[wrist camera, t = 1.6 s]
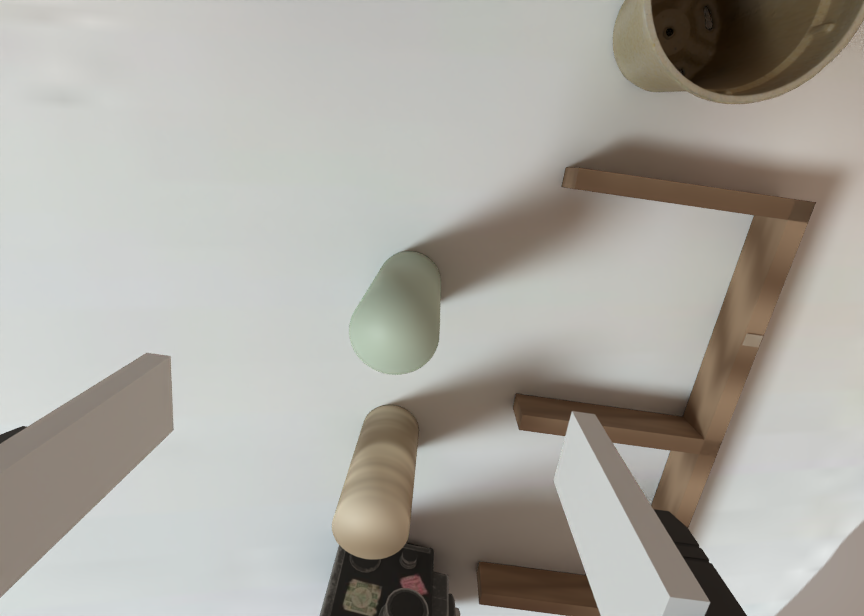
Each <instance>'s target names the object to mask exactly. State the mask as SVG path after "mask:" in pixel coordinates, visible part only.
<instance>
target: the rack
mask: <svg viewBox="0 0 864 616" xmlns="http://www.w3.org/2000/svg"><path fill="white" fill-rule="evenodd" d="M562 187H566V188H572V189H578V190H585V191H592V192H599V193H606V194H613V195H619V196H626V197H633V198H640V199H647V200H654V201H661V202H667V203H674V204H681V205H688V206H695V207H702V208H709V209H715V210H722V211H729V212H736V213H743V214H750V215H754V217H753V220H752V223H751V226H750V229H749V231H748V234H747V237H746V240H745V243H744V246H743V248H742V251H741V254H740V257H739V260H738V262H737V265H736V268H735V271H734V274H733V277H732V279H731V282H730V285H729V288H728V291H727V293H726V296H725V299H724V302H723V305H722V308H721V310H720V313H719V316H718V319H717V322H716V324H715V327H714V330H713V333H712V336H711V339H710V341H709V344H708V347H707V350H706V353H705V355H704V358H703V361H702V364H701V367H700V370H699V372H698V375H697V378H696V381H695V384H694V386H693V389H692V392H691V395H690V398H689V401H688V403H687V406H686V409H685V412H684V415H683V417H682V416H674V415H667V414H660V413H653V412H645V411H638V410H631V409H623V408H616V407H609V406H602V405H594V404H587V403H580V402H573V401H565V400H558V399H551V398H544V397H536V396H529V395H522V394H516V396H515V400H514V405H513V410H514V413H515V417H516V420H517V424H518V427H519V430H524V431H531V432H539V433H546V434H553V435H561V436H565V435H566V432H567V428H568V424H569V420H570V417H571V413H572V411H575V412H582V413H590V414H595V415H596V417H597V418H598V420H599V422H600V423H601V425H602V426H603V428H604V430H605V431H606V433H607V435H608V436H609V438H610V440H611V441H612V443H619V444H627V445H634V446H641V447H649V448H656V449H663V450H671V451H670V454H669V457H668V460H667V463H666V465H665V468H664V471H663V474H662V477H661V479H660V482H659V485H658V488H657V491H656V494H655V496H654V499H653V502H652V505H651V506H652V508H653V509H657V510H664V511H669V512H671V513H672V514H673V515H674V516H675V517H676V518H677V519H678V520H679V521H681V522H682V523H683V524H684V525H685V526H686V527H687V528H688V527H689V524H690V522H691V519H692V516H693V514H694V511H695V509H696V506H697V504H698V501H699V499H700V496H701V494H702V491H703V488H704V486H705V483H706V481H707V478H708V476H709V473H710V471H711V468H712V466H713V463H714V460H715V458H716V455H717V453H718V450H719V448H720V445H721V443H722V440H723V438H724V435H725V432H726V430H727V427H728V425H729V422H730V420H731V417H732V415H733V412H734V410H735V407H736V405H737V402H738V399H739V397H740V394H741V392H742V389H743V387H744V384H745V382H746V379H747V377H748V374H749V371H750V369H751V366H752V364H753V361H754V359H755V356H756V354H757V351H758V349H759V346H760V343H761V341H762V338H763V336H764V333H765V331H766V328H767V326H768V323H769V321H770V318H771V315H772V313H773V310H774V308H775V305H776V303H777V300H778V298H779V295H780V293H781V290H782V287H783V285H784V282H785V280H786V277H787V275H788V272H789V270H790V267H791V265H792V262H793V259H794V257H795V254H796V252H797V249H798V247H799V244H800V242H801V239H802V237H803V234H804V232H805V229H806V226H807V224H808V221H809V219H810V216H811V214H812V211H813V209H814V206H815V204H816V202H810V201H803V200H796V199H790V198H783V197H776V196H769V195H762V194H756V193H749V192H742V191H735V190H728V189H721V188H715V187H708V186H701V185H694V184H687V183H681V182H674V181H667V180H660V179H653V178H646V177H640V176H633V175H626V174H619V173H612V172H606V171H599V170H592V169H585V168H568V167H566V169H565V173H564V178H563V182H562ZM477 582H478V595H479V604H481V605H489V606H497V607H504V608H512V609H520V610H527V611H535V612H543V613H551V614H558V615H566V616H601V615H600V612H599V609H598V607H597V604H596V601H595V598H594V595H593V592H592V589H591V587H590V584H589V581H588V578H587V576H586V575H578V574H570V573H563V572H555V571H548V570H540V569H532V568H525V567H517V566H509V565H502V564H494V563H487V562H479V564H478V569H477Z"/></svg>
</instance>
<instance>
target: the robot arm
mask: <svg viewBox="0 0 864 616" xmlns="http://www.w3.org/2000/svg"><path fill="white" fill-rule="evenodd" d="M173 430H174V429H173V405H172V381H171V357H170V356H166V355H159V354H151V353H146V354H144V355H142V356H141V357H139V358H138V359H136V360H134V361H133V362H131V363H130V364H128V365H126V366H125V367H123V368H121V369H120V370H118V371H117V372H115V373H113V374H112V375H110V376H109V377H107V378H105V379H104V380H102V381H101V382H99V383H97V384H96V385H94V386H93V387H91V388H89V389H88V390H86V391H84V392H83V393H81V394H80V395H78V396H76V397H75V398H73V399H72V400H70V401H68V402H67V403H65V404H64V405H62V406H60V407H59V408H57V409H55V410H54V411H52V412H51V413H49V414H47V415H46V416H44V417H43V418H41V419H39V420H38V421H36V422H35V423H33V424H31V425H30V426H28V427H25V426H22V427H19V428H17V429H14V430H11V431H9V432H6V433H4V434H1V435H0V597H2V596H3V595H4V594H5V593H6V592H7V591H8V590H9V589H10V588H11V587H12V586H13V585H14V584H15V583H16V582H17V581H18V580H19V579H20V578H21V577H22V576H23V575H24V574H25V573H26V572H27V571H28V570H29V569H30V568H31V567H32V566H34V565H35V564H36V563H37V562H38V561H39V560H40V559H41V558H42V557H43V556H44V555H45V554H46V553H47V552H48V551H49V550H50V549H51V548H52V547H53V546H54V545H55V544H56V543H57V542H58V541H59V540H60V539H61V538H62V537H63V536H65V535H66V534H67V533H68V532H69V531H70V530H71V529H72V528H73V527H74V526H75V525H76V524H77V523H78V522H79V521H80V520H81V519H82V518H83V517H84V516H85V515H86V514H87V513H88V512H89V511H90V510H91V509H92V508H93V507H94V506H96V505H97V504H98V503H99V502H100V501H101V500H102V499H103V498H104V497H105V496H106V495H107V494H108V493H109V492H110V491H111V490H112V489H113V488H114V487H115V486H116V485H117V484H118V483H119V482H120V481H121V480H122V479H123V478H124V477H125V476H127V475H128V474H129V473H130V472H131V471H132V470H133V469H134V468H135V467H136V466H137V465H138V464H139V463H140V462H141V461H142V460H143V459H144V458H145V457H146V456H147V455H148V454H149V453H150V452H151V451H152V450H153V449H154V448H155V447H156V446H157V445H159V444H160V443H161V442H162V441H163V440H164V439H165V438H166V437H167V436H168V435H169V434H170V433H171V432H172V431H173ZM554 484H555V487H556V490H557V492H558V495H559V498H560V501H561V504H562V507H563V510H564V512H565V515H566V518H567V521H568V524H569V527H570V530H571V532H572V535H573V538H574V541H575V544H576V547H577V549H578V552H579V555H580V558H581V561H582V564H583V567H584V569H585V572H586V575H587V578H588V581H589V584H590V587H591V589H592V592H593V595H594V598H595V601H596V604H597V607H598V609H599V612H600V615H601V616H747V615H746V614H745V612H744V611H743V609H742V608H741V606H740V605H739V603H738V602H737V600H736V599H735V597H734V596H733V594H732V593H731V591H730V590H729V588H728V587H727V586H726V584H725V583H724V581H723V580H722V578H721V577H720V575H719V574H718V572H717V571H716V569H715V568H714V566H713V565H712V563H709V559H708V557H707V556H706V555H705V553H704V552H703V550H702V549H701V548H699V544H698V543H697V541H696V540H695V538H694V537H693V535H692V534H691V532H690V531H689V529H688V528H687V527H686V526H685V525H684V524H683V523H682V522H681V521H679V520H678V519H677V518H676V517H675V516H674V515H673V514H672V513H671V512H669V511H664V510H657V509H653V508H652V506H651V505H650V503H649V501H648V500H647V498H646V497H645V495H644V493H643V492H642V490H641V488H640V487H639V485H638V483H637V482H636V480H635V479H634V477H633V475H632V474H631V472H630V470H629V469H628V467H627V466H626V464H625V462H624V461H623V459H622V457H621V456H620V454H619V453H618V451H617V449H616V448H615V446H614V444H613V443H612V441H611V440H610V438H609V436H608V435H607V433H606V431H605V430H604V428H603V426H602V425H601V423H600V422H599V420H598V418H597V417H596V415H595V414H590V413H582V412H575V411H572V413H571V417H570V420H569V424H568V428H567V432H566V435H565V439H564V443H563V447H562V451H561V454H560V458H559V462H558V466H557V470H556V473H555V477H554Z"/></svg>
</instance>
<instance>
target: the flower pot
mask: <svg viewBox="0 0 864 616" xmlns="http://www.w3.org/2000/svg"><path fill="white" fill-rule="evenodd" d="M706 6H707V7H708V10H709V11H710V14H711V18H712V23H713V26H712V29H711V30H708V29H706V27H705V21H706V20H705V15H704V7H706ZM863 20H864V0H625V1H624V3H623V5H622V7H621V9H620V11H619V14H618V16H617V19H616V22H615V26H614V31H613V50H614V55H615V59H616V62H617V65H618V67H619V69H620V70H621V72H622V74H623V75H624V76H625V77H626V78H627V79H628V80H629V81H631V82H632V83H633V84H635V85H636V86H638V87H640V88H642V89H644V90H647V91H651V92H674V91H687V92H689V93H691V94H693V95H695V96H697V97H700V98H702V99H705V100H708V101H713V102H718V103H725V104H747V103H754V102H760V101H763V100H767V99H771V98H774V97H777V96H780V95H782V94H784V93H786V92H789V91H791V90H793V89H795V88H797V87H799V86H800V85H802V84H803V83H805V82H806V81H808V80H810V79H811V78H812V77H814V76H815V75H816V74H817V73H819V72H820V71H821V70H822V69H823V68H824V67H825V66H826V65H827V64H829V63H830V62H831V61H832V60H833V59H834V58H835V57H836V56H837V55H838V54H839V53H840V52H841V51H842V49H844V48H845V47H846V45H847V44H848V43H849V41H850V40H851V38H852V37H853V36H854V34H855V33H856V31H857V30H858V28H859V27H860V25H861V23H862V22H863ZM668 28H671V29H672V30H673V34H672V35H671V36H667V34H666V30H667V29H668ZM680 69H683V71H684V75H682V74H681V73H680V72H679V71H678V70H680Z"/></svg>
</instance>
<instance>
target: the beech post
mask: <svg viewBox="0 0 864 616" xmlns="http://www.w3.org/2000/svg"><path fill="white" fill-rule="evenodd" d="M418 435H419V427H418V423H417V421H416V419H415V417H414V416H413V415H412V414H411V413H410V412H409V411H408V410H406V409H404V408H402V407H399V406H395V405H384V406H380V407H377V408H375V409H374V410H372V411H371V412H370V413H369V414H368V415H367V416H366V418H365V420H364V423H363V426H362V429H361V432H360V435H359V439H358V442H357V445H356V448H355V451H354V454H353V458H352V461H351V464H350V467H349V470H348V473H347V477H346V480H345V483H344V486H343V489H342V493H341V496H340V499H339V502H338V505H337V508H336V512H335V515H334V518H333V522H332V531H333V535H334V537H335V539H336V541H337V542H338V544H339V545H340V546H341V547H342V548H343V549H344V550H345V551H347V552H348V553H350V554H352V555H354V556H357V557H360V558H364V559H383V558H387V557H389V556H392V555H394V554H395V553H397V552H398V551H400V550H401V549H402V548H403V546H404V545H405V544H406V542H407V540H408V536H409V529H410V519H411V508H412V498H413V487H414V477H415V467H416V456H417V446H418Z"/></svg>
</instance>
